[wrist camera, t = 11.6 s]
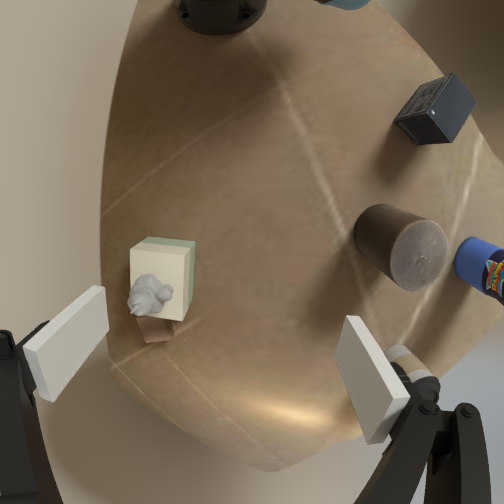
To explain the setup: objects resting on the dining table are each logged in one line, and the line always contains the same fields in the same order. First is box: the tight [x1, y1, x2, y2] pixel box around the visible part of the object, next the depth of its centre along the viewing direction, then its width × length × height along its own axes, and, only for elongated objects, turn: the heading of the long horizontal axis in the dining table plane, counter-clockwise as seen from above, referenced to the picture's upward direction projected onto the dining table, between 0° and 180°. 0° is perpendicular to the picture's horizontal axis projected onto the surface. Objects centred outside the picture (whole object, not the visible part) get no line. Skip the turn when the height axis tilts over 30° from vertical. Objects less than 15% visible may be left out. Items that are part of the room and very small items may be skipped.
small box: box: [394, 73, 477, 145], centre depth 35 cm, size 11×6×10 cm, turn 142°
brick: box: [136, 315, 176, 343], centre depth 48 cm, size 5×5×4 cm
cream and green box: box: [130, 236, 196, 321], centre depth 44 cm, size 10×8×8 cm
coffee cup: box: [384, 344, 440, 403], centre depth 45 cm, size 9×9×15 cm
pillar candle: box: [354, 204, 449, 291], centre depth 39 cm, size 10×10×15 cm
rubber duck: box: [127, 274, 174, 316], centre depth 36 cm, size 5×7×8 cm
